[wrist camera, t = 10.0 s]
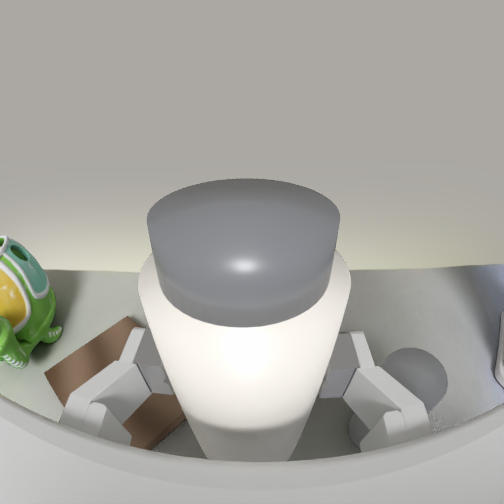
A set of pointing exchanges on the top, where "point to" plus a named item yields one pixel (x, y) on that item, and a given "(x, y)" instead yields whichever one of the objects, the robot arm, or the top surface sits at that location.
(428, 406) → the grey cylinder
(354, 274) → the top surface
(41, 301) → the turtle holder
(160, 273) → the plastic bottle
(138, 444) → the walnut board
